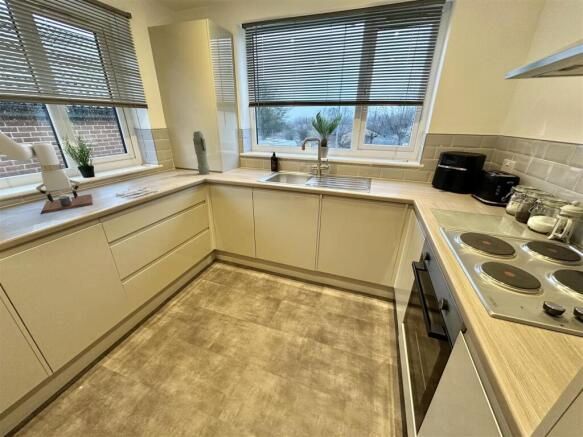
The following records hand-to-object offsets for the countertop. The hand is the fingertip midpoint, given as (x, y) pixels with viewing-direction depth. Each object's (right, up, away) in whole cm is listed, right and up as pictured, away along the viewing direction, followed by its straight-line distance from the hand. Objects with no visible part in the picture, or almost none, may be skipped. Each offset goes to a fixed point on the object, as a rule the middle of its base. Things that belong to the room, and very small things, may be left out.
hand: (64, 199), depth 130 cm
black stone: (0, -3, +1) cm, 3 cm away
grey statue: (+47, +29, +80) cm, 97 cm away
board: (-4, -2, +7) cm, 8 cm away
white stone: (-4, -1, +6) cm, 7 cm away
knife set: (+26, +9, +31) cm, 41 cm away
